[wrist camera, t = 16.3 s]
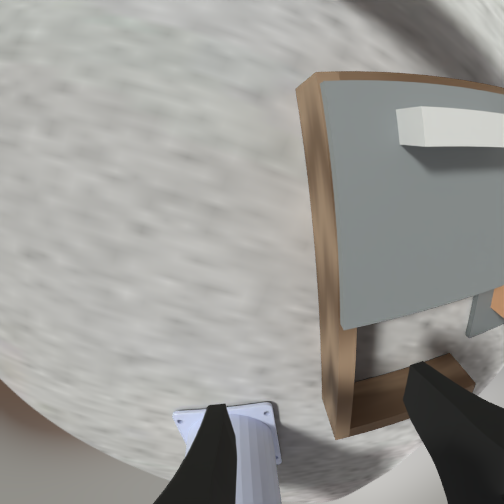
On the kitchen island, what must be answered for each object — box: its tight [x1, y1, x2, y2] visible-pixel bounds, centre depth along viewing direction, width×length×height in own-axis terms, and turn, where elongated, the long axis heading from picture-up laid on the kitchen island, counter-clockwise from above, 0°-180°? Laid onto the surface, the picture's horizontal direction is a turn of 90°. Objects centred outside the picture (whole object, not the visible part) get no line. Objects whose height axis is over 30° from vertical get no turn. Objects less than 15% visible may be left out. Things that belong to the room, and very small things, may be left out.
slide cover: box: [320, 80, 504, 330], centre depth 12 cm, size 11×12×3 cm
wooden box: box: [296, 71, 504, 440], centre depth 17 cm, size 22×12×4 cm, turn 8°
